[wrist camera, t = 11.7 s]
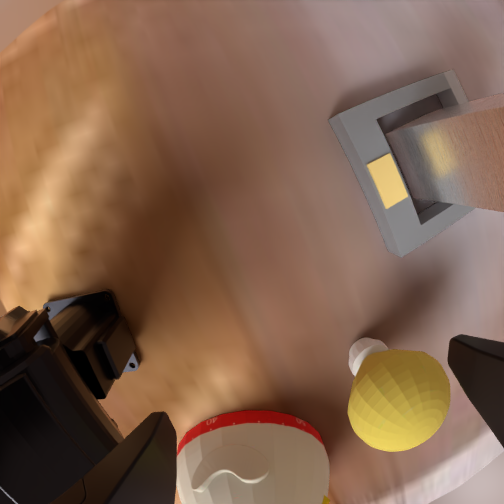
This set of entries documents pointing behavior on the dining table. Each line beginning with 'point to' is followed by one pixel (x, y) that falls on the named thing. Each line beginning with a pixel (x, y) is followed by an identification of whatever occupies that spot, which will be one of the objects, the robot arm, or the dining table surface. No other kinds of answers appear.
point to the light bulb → (395, 395)
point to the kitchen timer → (253, 461)
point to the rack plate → (386, 169)
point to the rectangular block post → (455, 154)
